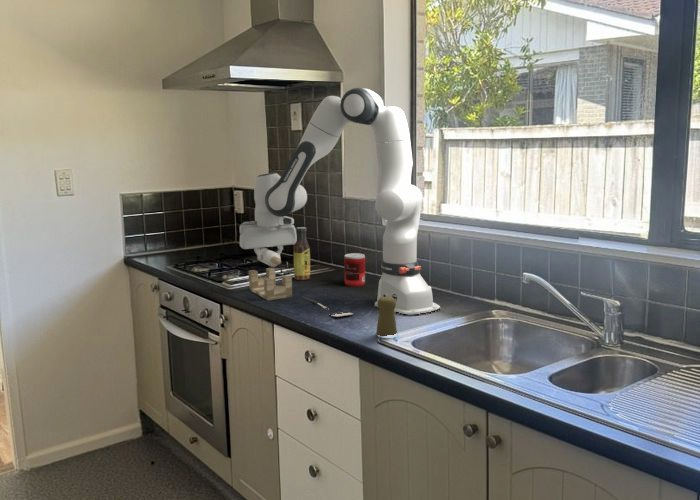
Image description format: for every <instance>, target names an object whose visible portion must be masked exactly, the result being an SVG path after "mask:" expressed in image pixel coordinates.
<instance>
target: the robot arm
mask: <svg viewBox="0 0 700 500" xmlns="http://www.w3.org/2000/svg"><path fill="white" fill-rule="evenodd" d="M385 102H386V101H385V100H384V98H383V97H382V95H381V94H379V92H377V91H374V90H371V89H370V88H364V87H363V88H362V87H354V88H351V89H349V90H347V91H346V92H345V93H344V94H343V96H342V97H339V96H337V95H328V96H326V97H324V98H323V100H322V101H321V102H320V104H319V105H318V106H317V108H316V110H315V111H314V113H313V114H312V116H311V118H310V119H309V122H308V125H307V126H306V128H305V129H304V133H303V134H302V137H301V139H300V140H299V143H298V144H297V147H296V148H295V151H294V153H293V154H292V156H291V158H290V160H289V162H288V164H287V166H286V167H285V169H284V171H283V172H282V174H281V175H280V174H278V172H267V173H263V174H259V175H257V176H256V178H255V180H254V186H253V187H254V189H253V192H254V193H253V195H254V196H253V198H254V203H255V208H254V220H252V221H243V222H242V223H241V224H240V225H239V232H238V233H239V247H240V248H241V249H243V250H251V249H252V250H253V251H254V253H255V254H256V257H257V258H256V259H257V261H259V262H261V261H260V260H263V255H260V253H259V251H260V250H261V249H263V248H271V247H276V248H277V251H276V253H278V254H279V255H280V256H281V254H282V251H283V250H284V246H290V245H294V244H295V243H296V241H297V232H296V227H295V225H294V224H295V219H294V218H293V217H291V216H287V215H289V214H292V213H293V212H297V211H298V210H301V209H302V208H304V207H305V205H306V204H307V202H308V192H307V190H306V189H305V187H304V186H303V185H302V184H301V182H302V180H303V178H304V177H305V175H306V174H307V171H308V170H309V169H310V167H312V165H314V164H315V163H316V162H317V161H319V160H320V159H322V158H324V157H326V156H327V155H328V154H329V153H331V151H332V150H333V149H334V147H336V145H337V143H338V142H339V140H340V137H341V135H342V133H343V131H344V129H345V128H346V126H347V125H348V124H349V123H355V124H359V125H366V126H370V127H371V128H372V130H373V134H374V141H375V149H376V155H377V156H376V157H377V167H378V168H377V169H378V172H377V173H378V174H377V175H378V177H377V191H376V192H377V195H376V199H375V203H374V206H375V207H374V208H375V211H376V214H377V215H378V216H379V217H380V218H381V219H382V220H384V221H386V225H385V230H384V233H383V236H382V260H381V265H380V268H381V272H382V273H381V276H380V279H379V280H378V289H377V298H376V299H377V301H374V307H376V306H377V307H376V308H378V304H377V303H378V300H379V298H381V297H392V298H394V299H395V300H396V307H395V309H394V311H395V312H394V313H396V312H399V313H398V314H400V313H403V314H419V315H421V314H420V313H426V312H431V311H434V310H437V309H439V308H440V309H441V306H440V305H439V304H437V303H435V302H433V301H434V300H433V290H432V286H430V285H428V283H427V282H426V281H425V279H424V278H423V277H422V275H421V267H422V266H421V265H419V260H417V254H418V253H417V250H418V248H417V247H418V243H417V242H418V231H419V226H420V225H419V224H420V219H421V212H422V206H423V202H424V196H423V193H422V190H421V189H420V188H419V187H417V186H416V185H414V184H411V183H412V171H413V165H414V164H413V161H414V160H413V153H412V152H413V151H412V145H411V137H410V135H411V134H410V130H409V125H408V121H407V118H406V115H405V112H404V110H403V109H401V108H400V107H398V106H393V105H390V106H389V105H388V106H386V104H385ZM431 313H432V312H431ZM403 314H402V315H403ZM426 314H427V313H426Z"/></svg>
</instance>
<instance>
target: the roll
mask: <svg viewBox="0 0 700 500" xmlns="http://www.w3.org/2000/svg"><path fill="white" fill-rule="evenodd" d="M259 253H260V255H263V260H260V261H259V262H261V263H263V264H265V265H267V266H269V267H271V268H273V267H274V268H275V267H277V266H278V265H281V264H282V260H281V254H280V255H279V254H278V253H277V251H273V250H271V249H268V248H267V247H263V248H260V251H259Z"/></svg>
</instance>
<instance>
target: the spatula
mask: <svg viewBox="0 0 700 500" xmlns="http://www.w3.org/2000/svg"><path fill="white" fill-rule="evenodd" d="M301 298H302V299H304V300H305V301H308V302H310V303H312V304H314V305H318V306H320V307H321V308H323V309H325V308H328V307H327V306H325V305H323V304H321V303H320V301H317V300H314V299H311V298H309V297H306V296H302V297H301ZM341 313H342V314H337V313H334V314H335V315H331V317H335V318H337V317H338V318H339V317H344V316H351V315H354V313H352V312H348V313H343V312H341Z"/></svg>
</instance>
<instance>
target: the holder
mask: <svg viewBox="0 0 700 500" xmlns="http://www.w3.org/2000/svg"><path fill="white" fill-rule="evenodd" d="M265 274H266V275H265V276H261V277H259V272H258V271H257V270H255V269H252V270H248V284H249V285H248V286H249V288H248V289H249V290H250V291H251V292H253V293H255V294H256V295H257V296H259V297H261V298H263V299H265V300H266V301H273V300H281V299H288V298H293V281H292V280H293V277H292V276H290V275H282V276H281V282H282V283H281V284H280V285H279V284H278V285H277V284H276V281H277V280H276V269H275V268H273V267H268V268H265Z"/></svg>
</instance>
